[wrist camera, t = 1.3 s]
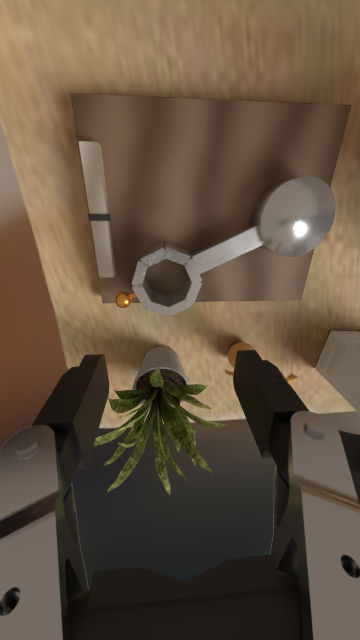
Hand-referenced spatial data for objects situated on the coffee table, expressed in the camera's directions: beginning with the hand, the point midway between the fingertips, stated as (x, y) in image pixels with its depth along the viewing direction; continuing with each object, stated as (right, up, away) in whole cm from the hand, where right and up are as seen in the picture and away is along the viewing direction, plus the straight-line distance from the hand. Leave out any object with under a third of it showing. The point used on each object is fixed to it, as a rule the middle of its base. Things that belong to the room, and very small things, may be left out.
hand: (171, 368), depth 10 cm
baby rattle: (+4, +10, +15) cm, 18 cm away
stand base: (+3, +14, +15) cm, 21 cm away
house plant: (-4, -4, +24) cm, 24 cm away
